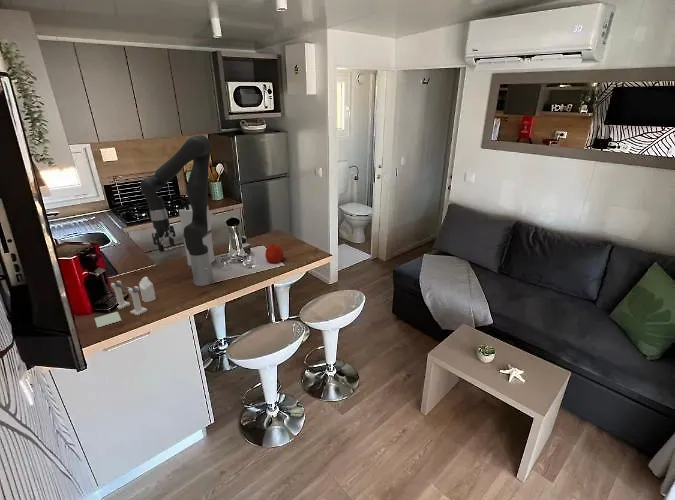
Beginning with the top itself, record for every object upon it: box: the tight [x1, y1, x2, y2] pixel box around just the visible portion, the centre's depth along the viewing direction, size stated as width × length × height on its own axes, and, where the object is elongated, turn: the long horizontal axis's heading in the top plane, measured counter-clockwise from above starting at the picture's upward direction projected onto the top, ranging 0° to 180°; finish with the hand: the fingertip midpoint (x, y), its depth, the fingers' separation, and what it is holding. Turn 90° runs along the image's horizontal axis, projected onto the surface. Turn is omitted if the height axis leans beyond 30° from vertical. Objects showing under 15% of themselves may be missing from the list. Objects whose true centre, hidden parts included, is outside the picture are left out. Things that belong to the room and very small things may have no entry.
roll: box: [138, 276, 157, 303], centre depth 171 cm, size 6×12×6 cm
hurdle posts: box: [110, 280, 148, 317], centre depth 163 cm, size 17×5×12 cm, turn 64°
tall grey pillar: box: [178, 204, 217, 270], centre depth 203 cm, size 11×11×35 cm
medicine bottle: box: [242, 236, 252, 255], centre depth 222 cm, size 7×7×12 cm
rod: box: [113, 282, 139, 293], centre depth 161 cm, size 16×1×1 cm, turn 64°
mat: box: [94, 311, 123, 329], centre depth 156 cm, size 9×9×1 cm
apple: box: [264, 243, 284, 264], centre depth 215 cm, size 11×11×11 cm
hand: (167, 248), depth 182 cm, fingers open, 8 cm apart
